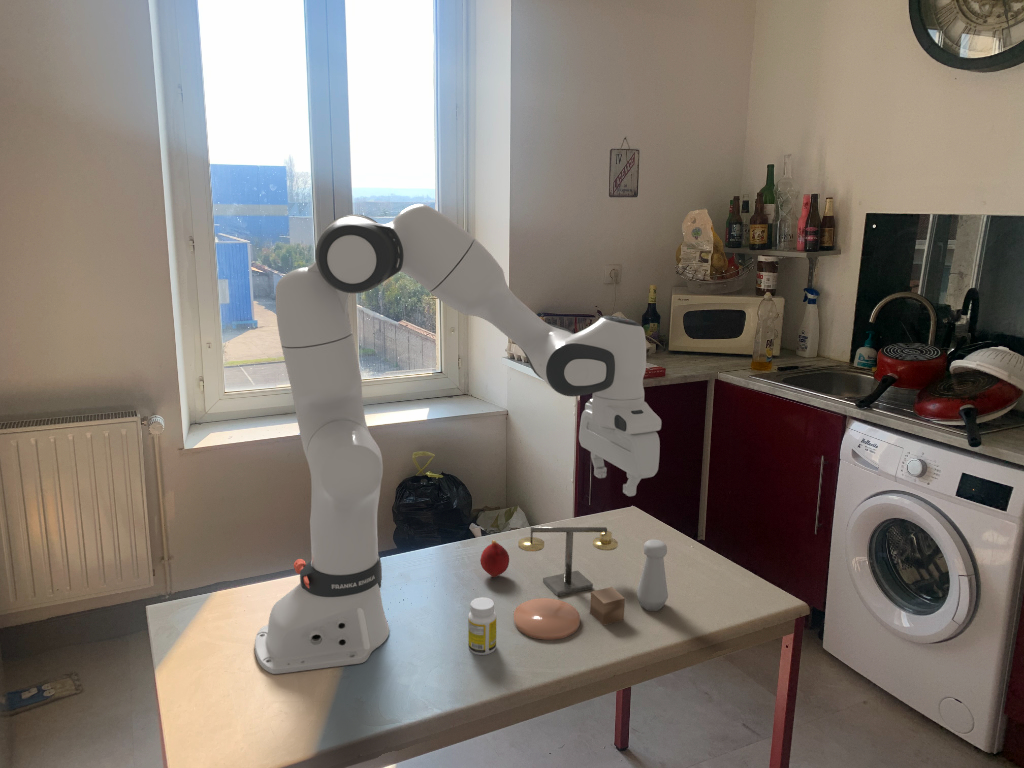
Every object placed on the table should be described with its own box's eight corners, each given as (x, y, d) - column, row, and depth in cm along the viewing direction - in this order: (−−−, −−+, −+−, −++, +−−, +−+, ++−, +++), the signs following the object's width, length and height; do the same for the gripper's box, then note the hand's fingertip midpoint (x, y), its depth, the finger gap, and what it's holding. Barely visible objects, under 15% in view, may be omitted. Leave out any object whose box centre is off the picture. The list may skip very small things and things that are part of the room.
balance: (525, 603, 140) (527, 535, 137) (511, 589, 145) (513, 523, 142) (621, 581, 149) (625, 517, 146) (606, 568, 154) (609, 506, 151)
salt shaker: (642, 594, 144) (646, 533, 141) (671, 602, 141) (675, 540, 138) (631, 607, 139) (635, 544, 136) (660, 616, 136) (665, 552, 133)
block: (602, 625, 133) (603, 603, 132) (589, 613, 137) (591, 591, 136) (623, 620, 135) (625, 598, 134) (610, 608, 139) (611, 586, 138)
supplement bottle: (490, 637, 128) (491, 594, 127) (500, 652, 124) (500, 607, 122) (464, 642, 127) (464, 598, 125) (473, 658, 123) (473, 612, 121)
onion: (510, 570, 152) (510, 535, 151) (507, 584, 147) (508, 547, 145) (482, 569, 153) (482, 533, 151) (478, 582, 147) (478, 545, 145)
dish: (531, 646, 126) (532, 639, 126) (503, 611, 137) (503, 606, 136) (591, 630, 131) (592, 624, 131) (559, 598, 142) (559, 593, 141)
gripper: (571, 397, 135) (569, 469, 138) (635, 427, 117) (631, 508, 120) (601, 394, 137) (598, 464, 140) (668, 423, 119) (663, 502, 122)
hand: (614, 485), depth 130 cm, fingers open, 8 cm apart
